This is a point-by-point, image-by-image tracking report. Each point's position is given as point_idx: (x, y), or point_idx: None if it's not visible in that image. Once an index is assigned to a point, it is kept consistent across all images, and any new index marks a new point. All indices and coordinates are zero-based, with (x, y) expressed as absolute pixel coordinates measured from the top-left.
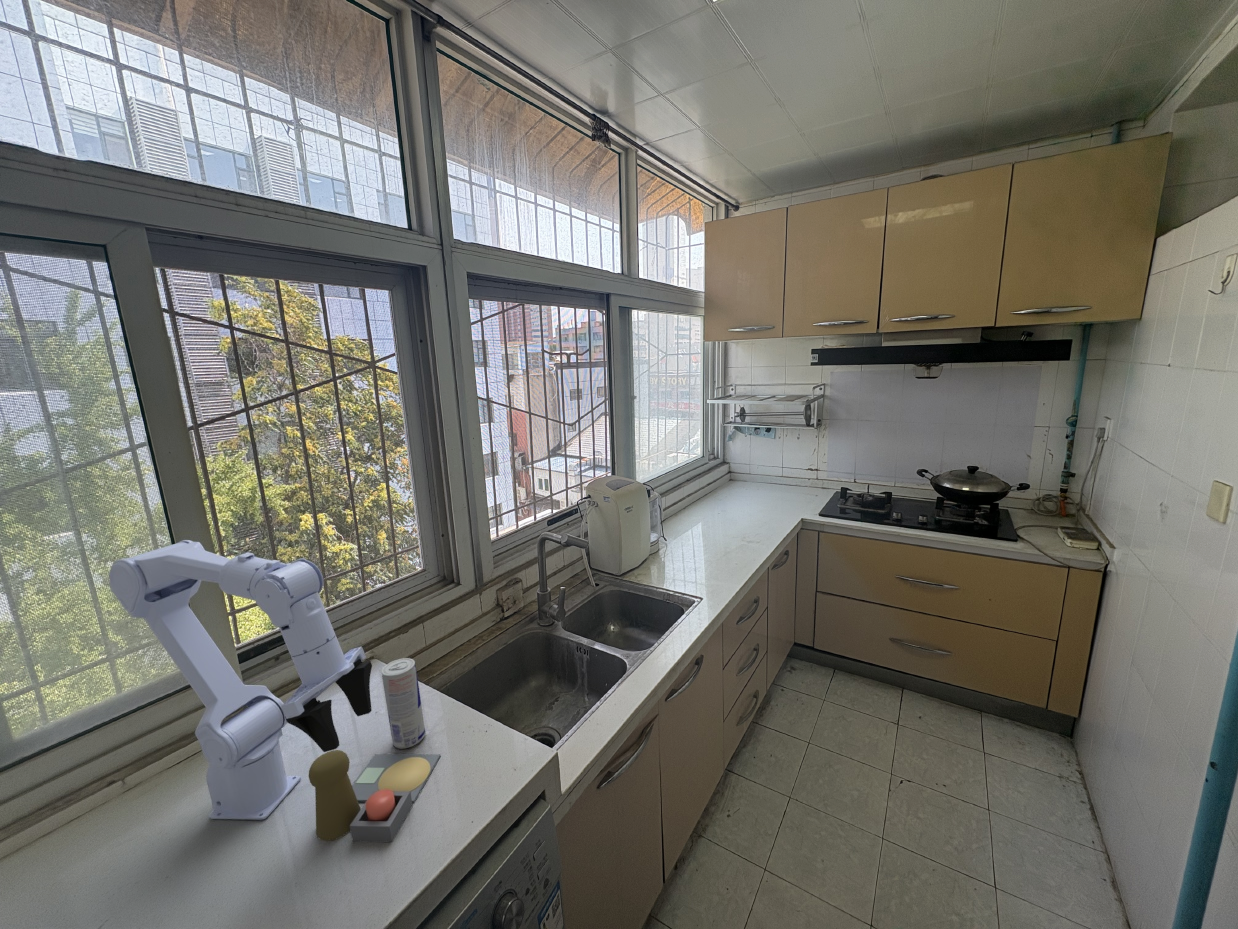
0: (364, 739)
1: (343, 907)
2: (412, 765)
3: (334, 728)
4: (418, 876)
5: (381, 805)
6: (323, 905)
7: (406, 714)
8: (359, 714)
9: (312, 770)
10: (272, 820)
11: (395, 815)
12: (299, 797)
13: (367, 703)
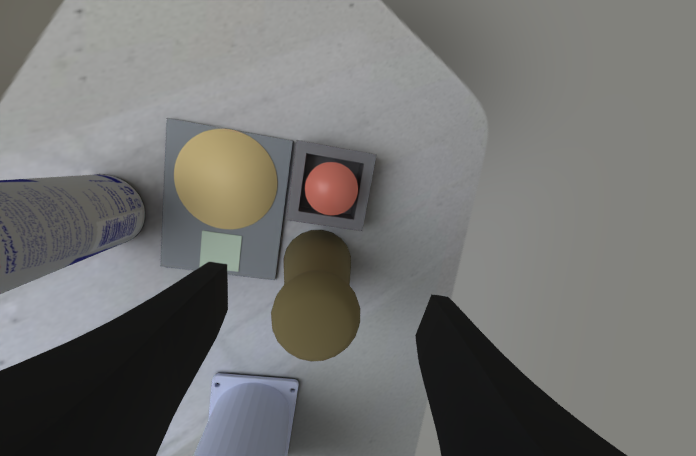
0: (110, 308)
1: (462, 190)
2: (199, 173)
3: (471, 347)
4: (440, 87)
5: (347, 179)
6: (453, 220)
7: (72, 207)
8: (225, 305)
9: (343, 348)
10: (299, 368)
11: (352, 151)
12: (256, 353)
13: (205, 286)
